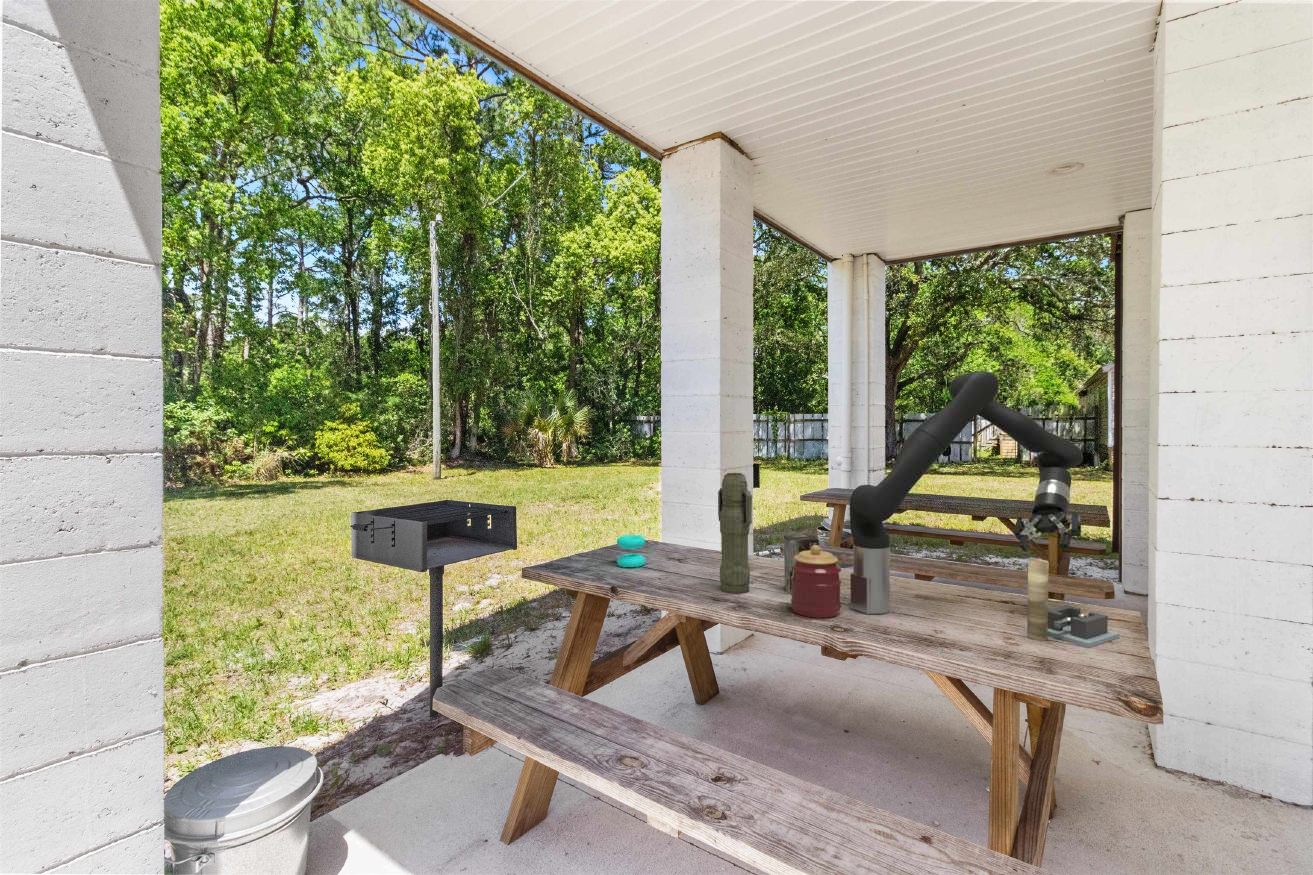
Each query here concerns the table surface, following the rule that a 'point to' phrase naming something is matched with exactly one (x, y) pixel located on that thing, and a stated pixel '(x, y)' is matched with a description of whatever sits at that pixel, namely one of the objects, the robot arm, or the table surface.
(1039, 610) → the birch dowel
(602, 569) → the table surface
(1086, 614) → the plunger
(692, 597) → the table surface
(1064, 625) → the plunger
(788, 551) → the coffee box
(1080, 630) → the band socket
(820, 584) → the canister
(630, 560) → the donuts
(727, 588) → the thermos
